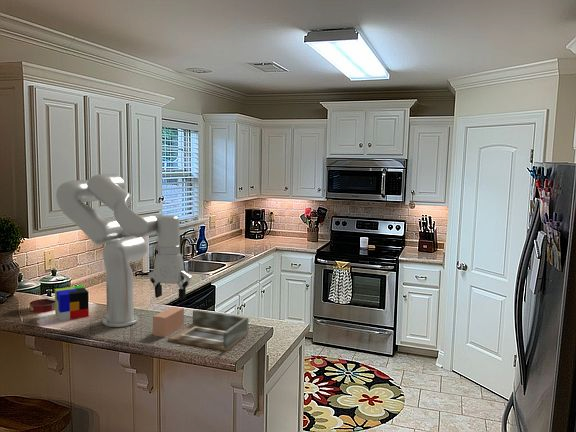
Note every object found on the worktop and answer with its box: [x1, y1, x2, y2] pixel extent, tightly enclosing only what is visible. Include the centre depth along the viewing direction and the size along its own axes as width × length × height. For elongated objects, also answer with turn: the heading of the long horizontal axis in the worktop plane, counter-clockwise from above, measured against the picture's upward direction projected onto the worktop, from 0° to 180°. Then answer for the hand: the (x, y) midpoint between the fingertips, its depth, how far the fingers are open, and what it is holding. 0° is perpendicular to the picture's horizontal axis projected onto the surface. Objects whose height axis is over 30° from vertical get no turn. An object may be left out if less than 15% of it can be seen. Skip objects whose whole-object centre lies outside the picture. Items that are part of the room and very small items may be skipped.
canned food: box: [29, 289, 55, 314], centre depth 191 cm, size 11×10×10 cm
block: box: [152, 306, 185, 338], centre depth 170 cm, size 12×5×7 cm, turn 161°
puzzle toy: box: [54, 285, 90, 322], centre depth 184 cm, size 10×10×10 cm
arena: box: [167, 309, 250, 352], centre depth 165 cm, size 22×17×6 cm
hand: (170, 297), depth 169 cm, fingers open, 9 cm apart
